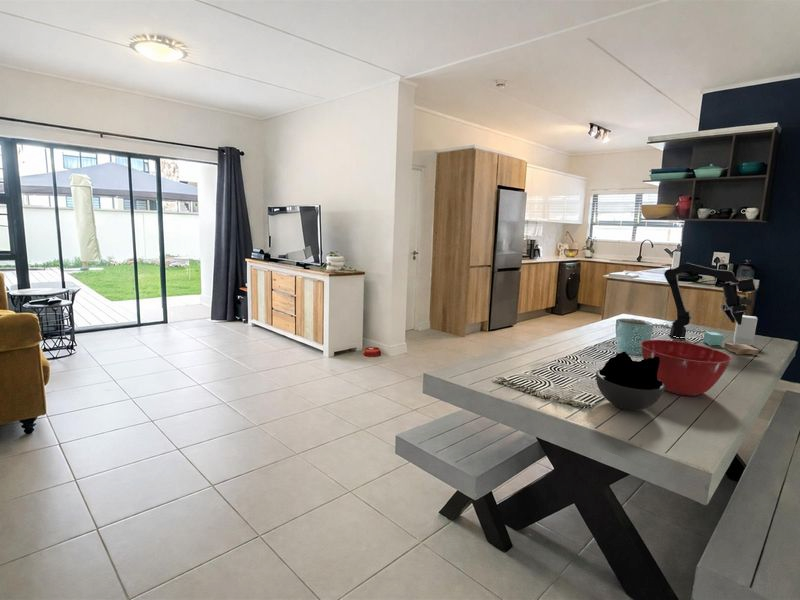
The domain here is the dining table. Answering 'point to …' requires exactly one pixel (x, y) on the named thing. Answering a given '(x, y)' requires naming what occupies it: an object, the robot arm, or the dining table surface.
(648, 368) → the coal bowl
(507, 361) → the dining table surface
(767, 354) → the dining table surface
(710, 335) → the teal block
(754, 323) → the skincare box
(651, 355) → the mixing bowl
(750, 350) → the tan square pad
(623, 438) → the dining table surface
